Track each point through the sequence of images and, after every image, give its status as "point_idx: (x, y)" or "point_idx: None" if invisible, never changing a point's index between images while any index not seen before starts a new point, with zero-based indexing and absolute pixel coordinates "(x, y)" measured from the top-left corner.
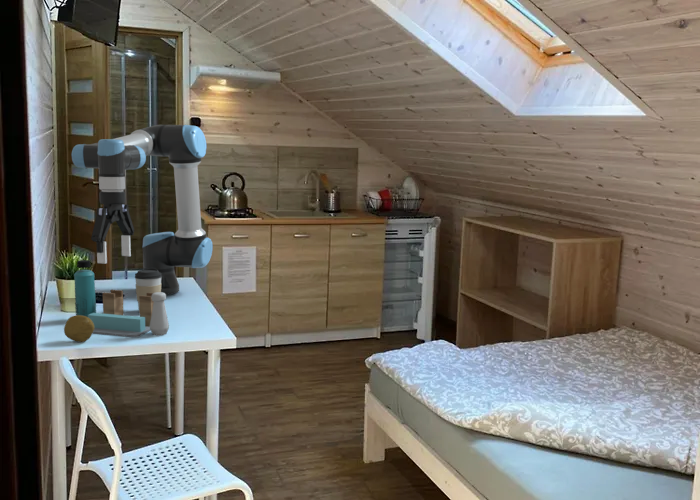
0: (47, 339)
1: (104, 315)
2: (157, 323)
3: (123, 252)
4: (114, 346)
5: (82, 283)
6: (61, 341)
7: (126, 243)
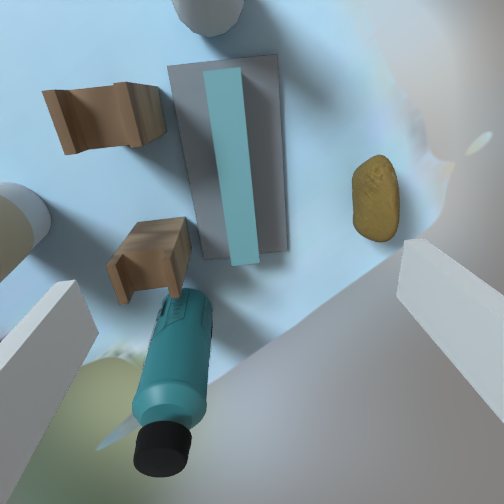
0: (362, 267)
1: (245, 218)
2: None
3: (82, 341)
4: (383, 62)
5: (201, 372)
6: None
7: (24, 384)
